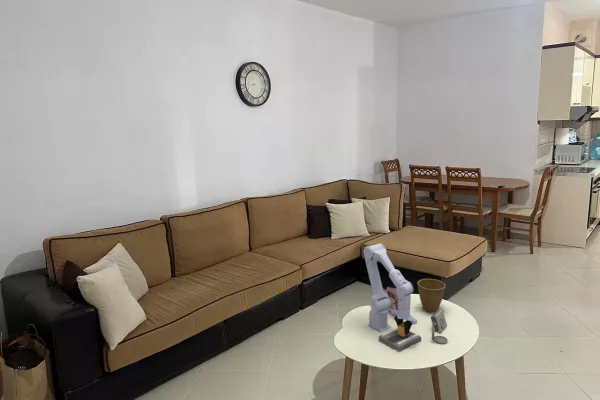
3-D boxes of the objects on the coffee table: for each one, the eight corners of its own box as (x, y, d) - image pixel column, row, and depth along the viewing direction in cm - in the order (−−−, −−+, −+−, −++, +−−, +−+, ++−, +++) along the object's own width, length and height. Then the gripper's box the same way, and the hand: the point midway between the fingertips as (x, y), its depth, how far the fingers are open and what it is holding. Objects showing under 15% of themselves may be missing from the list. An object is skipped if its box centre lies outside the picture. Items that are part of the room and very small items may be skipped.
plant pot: (411, 310, 244) (412, 284, 241) (425, 302, 254) (426, 276, 251) (435, 319, 234) (436, 291, 231) (449, 310, 244) (450, 283, 240)
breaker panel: (378, 340, 213) (378, 334, 212) (400, 330, 222) (400, 324, 221) (399, 352, 203) (399, 345, 202) (421, 341, 212) (421, 334, 211)
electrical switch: (440, 334, 218) (439, 316, 217) (430, 331, 221) (429, 314, 220) (447, 326, 225) (446, 309, 224) (437, 324, 229) (436, 308, 227)
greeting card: (385, 312, 243) (385, 287, 240) (395, 309, 246) (396, 284, 243) (397, 320, 233) (398, 294, 230) (408, 317, 236) (409, 292, 233)
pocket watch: (450, 343, 209) (451, 324, 207) (435, 346, 207) (436, 326, 205) (440, 335, 217) (441, 316, 215) (425, 337, 215) (426, 319, 213)
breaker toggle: (397, 334, 213) (397, 325, 212) (403, 331, 216) (403, 322, 215) (403, 337, 210) (403, 328, 210) (408, 334, 213) (409, 325, 212)
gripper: (387, 303, 214) (387, 328, 216) (410, 314, 202) (409, 340, 205) (397, 300, 218) (396, 324, 220) (420, 310, 206) (419, 336, 209)
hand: (403, 332), depth 213 cm, fingers closed on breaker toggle, 4 cm apart
